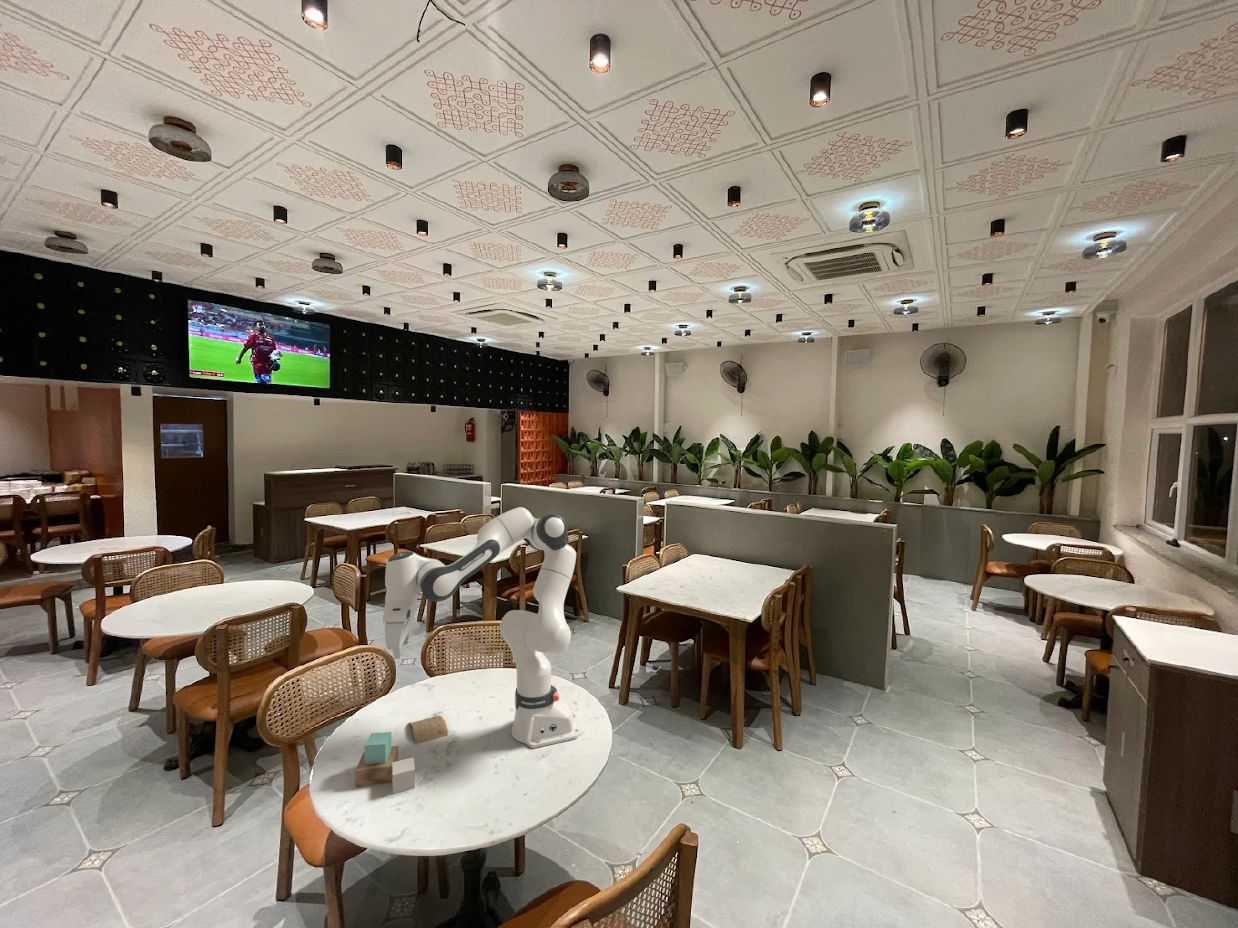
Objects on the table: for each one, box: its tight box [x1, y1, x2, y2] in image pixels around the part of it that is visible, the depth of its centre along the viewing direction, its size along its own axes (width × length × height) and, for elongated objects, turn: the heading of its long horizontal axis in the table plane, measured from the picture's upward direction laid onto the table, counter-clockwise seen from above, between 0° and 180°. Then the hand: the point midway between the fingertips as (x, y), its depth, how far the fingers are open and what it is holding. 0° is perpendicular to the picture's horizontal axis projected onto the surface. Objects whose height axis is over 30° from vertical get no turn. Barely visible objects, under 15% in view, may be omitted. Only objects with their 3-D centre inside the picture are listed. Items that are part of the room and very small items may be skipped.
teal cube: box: [363, 731, 393, 764], centre depth 139 cm, size 6×6×6 cm
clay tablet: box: [409, 715, 449, 745], centre depth 160 cm, size 14×10×3 cm
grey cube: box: [391, 756, 416, 795], centre depth 135 cm, size 6×6×6 cm
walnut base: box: [355, 745, 399, 788], centre depth 139 cm, size 9×9×5 cm
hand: (401, 650), depth 148 cm, fingers open, 8 cm apart
